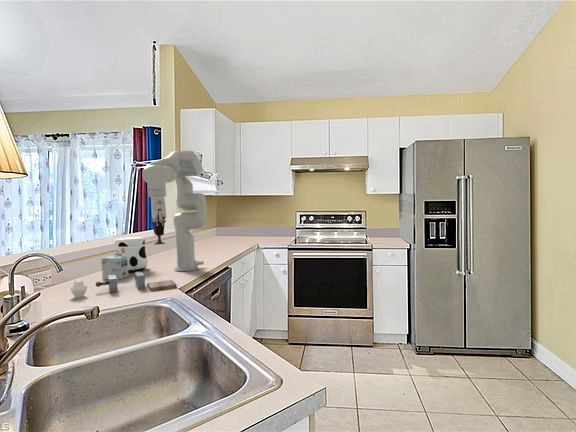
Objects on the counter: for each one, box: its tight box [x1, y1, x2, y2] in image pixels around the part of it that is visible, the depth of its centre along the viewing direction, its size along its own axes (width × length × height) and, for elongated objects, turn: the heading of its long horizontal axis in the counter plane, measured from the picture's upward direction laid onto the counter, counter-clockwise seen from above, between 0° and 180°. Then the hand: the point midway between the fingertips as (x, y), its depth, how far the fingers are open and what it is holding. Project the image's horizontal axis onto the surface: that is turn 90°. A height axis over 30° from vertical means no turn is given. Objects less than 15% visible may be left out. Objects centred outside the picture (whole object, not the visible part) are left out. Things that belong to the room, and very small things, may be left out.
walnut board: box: [146, 279, 178, 292], centre depth 172 cm, size 11×11×2 cm
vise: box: [95, 271, 146, 294], centre depth 170 cm, size 20×10×6 cm, turn 117°
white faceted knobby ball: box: [69, 279, 88, 299], centre depth 159 cm, size 6×6×7 cm
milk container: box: [114, 236, 149, 273], centre depth 214 cm, size 17×17×18 cm
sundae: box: [150, 217, 167, 245], centre depth 171 cm, size 7×7×15 cm
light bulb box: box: [101, 255, 129, 280], centre depth 196 cm, size 11×7×11 cm, turn 84°
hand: (159, 234), depth 171 cm, fingers closed on sundae, 4 cm apart
